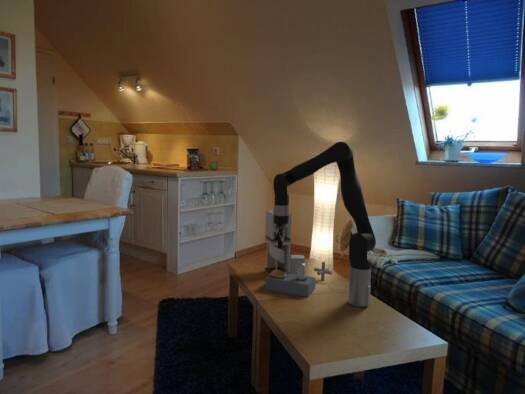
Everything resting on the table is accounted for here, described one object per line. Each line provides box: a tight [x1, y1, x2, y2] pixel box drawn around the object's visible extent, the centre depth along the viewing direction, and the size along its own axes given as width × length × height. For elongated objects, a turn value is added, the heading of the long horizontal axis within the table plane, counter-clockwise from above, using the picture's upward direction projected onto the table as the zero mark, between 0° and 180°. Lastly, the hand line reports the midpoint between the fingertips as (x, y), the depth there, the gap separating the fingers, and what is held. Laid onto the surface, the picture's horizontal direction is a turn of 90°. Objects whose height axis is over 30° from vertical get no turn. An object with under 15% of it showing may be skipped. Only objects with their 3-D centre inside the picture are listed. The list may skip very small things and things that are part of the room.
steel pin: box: [297, 262, 306, 282], centre depth 196 cm, size 4×4×14 cm
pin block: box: [264, 272, 317, 298], centre depth 198 cm, size 22×12×6 cm, turn 67°
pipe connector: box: [313, 261, 333, 282], centre depth 213 cm, size 10×10×10 cm
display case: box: [264, 209, 293, 276], centre depth 221 cm, size 11×11×35 cm
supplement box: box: [289, 254, 306, 275], centre depth 213 cm, size 7×7×13 cm
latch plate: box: [268, 269, 290, 279], centre depth 200 cm, size 8×8×1 cm
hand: (280, 248), depth 198 cm, fingers closed
